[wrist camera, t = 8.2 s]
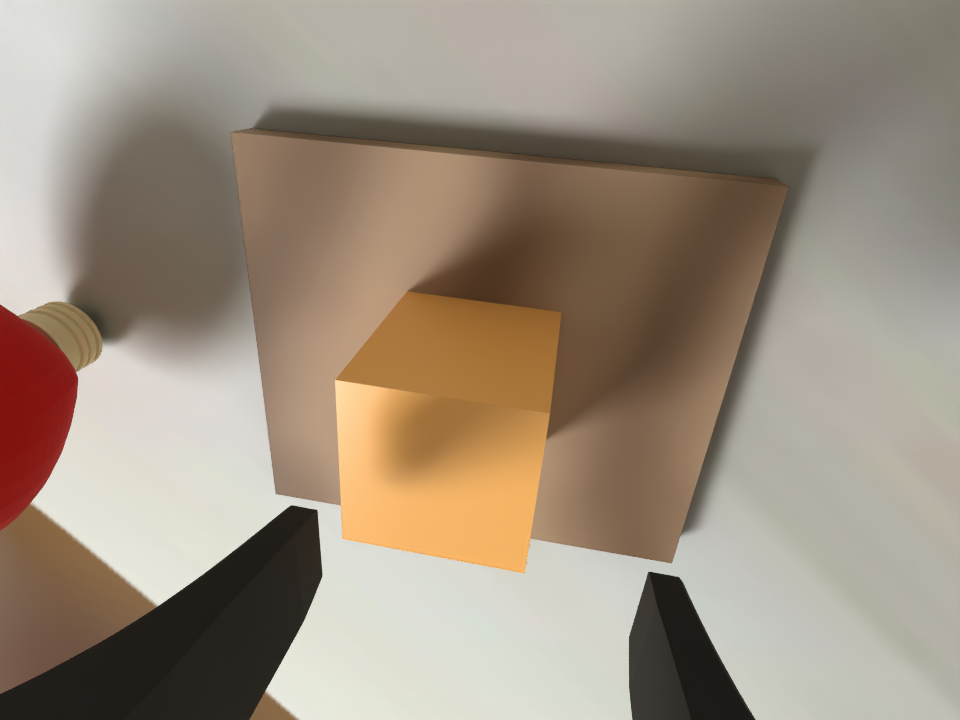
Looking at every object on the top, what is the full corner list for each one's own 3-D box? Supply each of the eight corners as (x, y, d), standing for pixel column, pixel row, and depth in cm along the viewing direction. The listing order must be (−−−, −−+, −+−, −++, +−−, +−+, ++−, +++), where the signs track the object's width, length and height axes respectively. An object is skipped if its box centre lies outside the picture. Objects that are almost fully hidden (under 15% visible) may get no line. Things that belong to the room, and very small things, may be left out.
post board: (776, 178, 16) (858, 227, 11) (667, 540, 23) (690, 673, 18) (251, 128, 18) (123, 151, 13) (289, 475, 25) (213, 579, 20)
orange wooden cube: (561, 312, 18) (549, 413, 13) (541, 442, 20) (524, 573, 15) (407, 291, 19) (335, 379, 13) (404, 420, 21) (342, 538, 16)
